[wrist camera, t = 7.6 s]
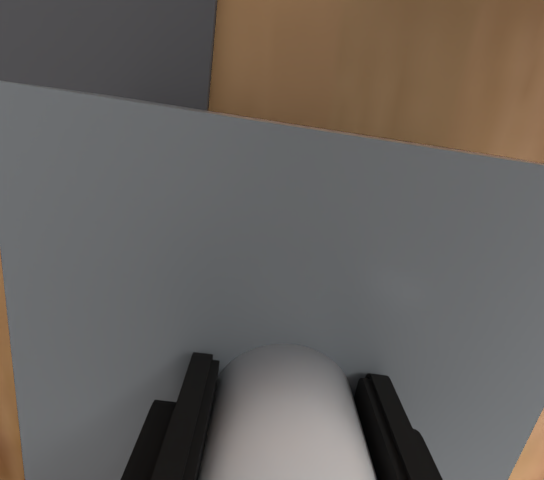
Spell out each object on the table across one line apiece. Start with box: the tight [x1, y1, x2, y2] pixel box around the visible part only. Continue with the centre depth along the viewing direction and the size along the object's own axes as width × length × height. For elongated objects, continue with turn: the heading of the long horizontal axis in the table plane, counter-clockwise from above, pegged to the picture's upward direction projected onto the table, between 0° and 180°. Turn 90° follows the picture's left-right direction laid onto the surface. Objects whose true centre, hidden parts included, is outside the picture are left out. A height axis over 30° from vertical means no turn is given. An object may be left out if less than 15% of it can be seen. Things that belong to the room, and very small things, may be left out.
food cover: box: [0, 81, 544, 480], centre depth 11 cm, size 15×15×11 cm
